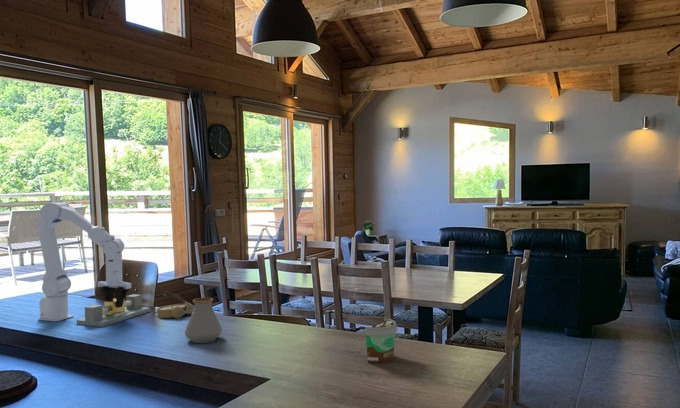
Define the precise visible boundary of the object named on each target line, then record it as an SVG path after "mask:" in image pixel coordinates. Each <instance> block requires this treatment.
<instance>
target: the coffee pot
mask: <svg viewBox="0 0 680 408" xmlns="http://www.w3.org/2000/svg"><path fill="white" fill-rule="evenodd" d="M164 294H165V295H164ZM168 294H169V296H171V297H172V298H174V299H175V300H176V301H179V302H181V304H186V305H188V306H189V307H191V308H193V309H194V310H193V312H192V314H191V315H190V318H189V320H188V323H187V325H186V328H185V330H184V335H185V337H186V338H187V339H189V341H190V342H192V343H194V344H205V343H210V342H214V341H216V339H217V338H218V337H219V336H220V335H221V333H222V332H223V329H222V326H221V324H220V322H219V319H218V318H217V315H216V312H215V310H214V309H213V306H212V304H213V301H214V298H212V297H198V298H194V299H193V300H192V303H193V304H192V303H190V302H188V301H187V300H185V299H183V298H182V297H180V296H179V295H177V294H175V293H173V292H172V291H169V290H165V291H164V292H163V293H162V295H163V296H167V295H168ZM191 304H192V305H191Z"/></svg>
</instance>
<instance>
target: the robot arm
mask: <svg viewBox="0 0 680 408" xmlns="http://www.w3.org/2000/svg"><path fill="white" fill-rule="evenodd" d="M39 213H40V214H39V218H38V221H37V226H36V227H37V228H36V229H37V232H38V236H39V237H38V238H39V243H40V246H41V251H42V258H43V264H44V268H45V273H44V274H43V277H42V286H41V290H42V293H43V294H44V295H43V296H42V297H41V298H40V301H39V317H38V318H37V320H38V321H48V322H60V321H63V320H66V319H70V318H74V314H73V315H71V314H69V297H68V296H69V289H70V288H71V286H72V282H71V279H70V278H69V277H68V274H67V271H66V270H65V269H64V268H63V266H62V260H61V255H60V251H59V250H60V249H59V244H58V239H57V234H56V233H57V232H56V230H55V228H56V227H57V226H58V225H59V223H61V222H62V221H70V223H73V224H75V226H76V227H79V228H80V229H81V230H83V231H84V232H86V233H87V237H88V239H89V240H90V241H92V242H93V243H95V244H96V245H97V246H99V247H100V248H101V249H102V252H103V253H104V255H105V281H104V280H101V281H97V288H100V289H99V292H100V293H101V294H102V296H103V297H104V300H105V301H108V300H112V299H114V296H115V299H116V304H117V308H119V307H122V306H123V302H124V299H126V296H127V294H128V292H129V290H130V289H132V282H126V281H123V251H124V248H125V244H124V242H123V240H122V239H121V238H118V237H117V238H116V236H115V235H114V234H113V235H111V234H110V233H109V232H107V230H106V227H104V226H100V225H96V226H95V225H93V224H92V223H91V222H90V221H89V220H88V219H87V218H85V217H84V216H83V215H82V214H81V213H79V211H78V210H76V209H75V208H74V207H73V206H71V205H70V204H69V203H67V202H65V201H63V202H47V203H45V204H44V205H43V206H42V207H41V208H40V209H39ZM105 301H104V302H105Z"/></svg>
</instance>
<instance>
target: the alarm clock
mask: <svg viewBox="0 0 680 408" xmlns="http://www.w3.org/2000/svg"><path fill="white" fill-rule="evenodd" d="M190 304H191V305H193V304H192V303H190ZM156 310H157V311H155V312H154V314H157V318H158V319H159V318H160V319H167V318H168V319H169V318H172V319H177V320H178V319H181V318H182V317H183V316H184V315H187V316H190V315H189V314H191V315H192V312H193V310H194V309H193V308H191V307H189V306H188V305H186V304H185V303H175V304H174V303H173V304H169V305H163V306H160V307H157V308H156Z"/></svg>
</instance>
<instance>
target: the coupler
mask: <svg viewBox="0 0 680 408" xmlns="http://www.w3.org/2000/svg"><path fill="white" fill-rule="evenodd" d="M125 299H126V298H124V302H123V306H122V307H119V308H117V304H116V298H113V299H112V300H108V301H104V303H103V304H104V306H103V308H104V307H107V308H108V312H106V313H105V315H112V316H113V315H115V314H118V313H121V312H125V301H126V300H125Z"/></svg>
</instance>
